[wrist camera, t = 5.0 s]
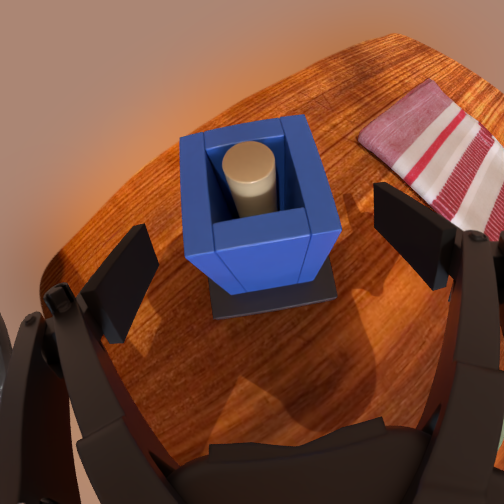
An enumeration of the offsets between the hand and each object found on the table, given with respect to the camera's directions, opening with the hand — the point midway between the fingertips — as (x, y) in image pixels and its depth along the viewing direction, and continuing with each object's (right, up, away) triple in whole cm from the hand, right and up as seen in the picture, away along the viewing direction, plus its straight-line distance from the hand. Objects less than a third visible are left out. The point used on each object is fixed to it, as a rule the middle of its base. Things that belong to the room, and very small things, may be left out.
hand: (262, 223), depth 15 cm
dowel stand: (0, -2, +7) cm, 7 cm away
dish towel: (+23, +6, +7) cm, 25 cm away
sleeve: (0, -1, +6) cm, 6 cm away
